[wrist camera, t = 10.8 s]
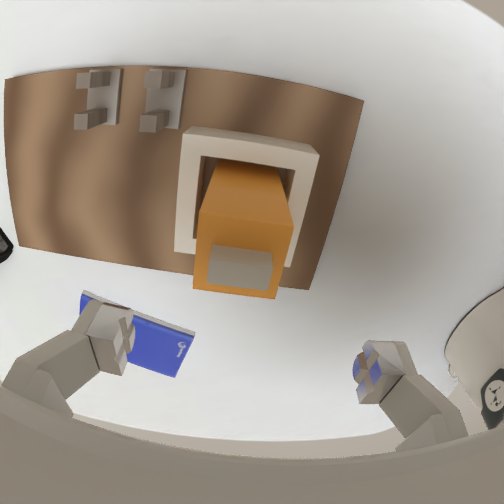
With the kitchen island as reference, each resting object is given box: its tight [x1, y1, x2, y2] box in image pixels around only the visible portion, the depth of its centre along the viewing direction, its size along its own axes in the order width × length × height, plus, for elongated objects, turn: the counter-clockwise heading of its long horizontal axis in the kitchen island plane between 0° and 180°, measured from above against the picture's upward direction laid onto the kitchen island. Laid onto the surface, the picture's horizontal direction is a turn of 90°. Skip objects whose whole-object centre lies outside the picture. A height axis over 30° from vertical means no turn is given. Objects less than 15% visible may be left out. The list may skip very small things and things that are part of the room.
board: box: [4, 66, 364, 290], centre depth 20 cm, size 28×16×5 cm, turn 80°
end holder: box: [174, 126, 320, 267], centre depth 20 cm, size 8×8×3 cm
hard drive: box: [80, 291, 195, 378], centre depth 31 cm, size 2×8×12 cm
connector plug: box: [193, 158, 294, 299], centre depth 17 cm, size 4×4×10 cm
